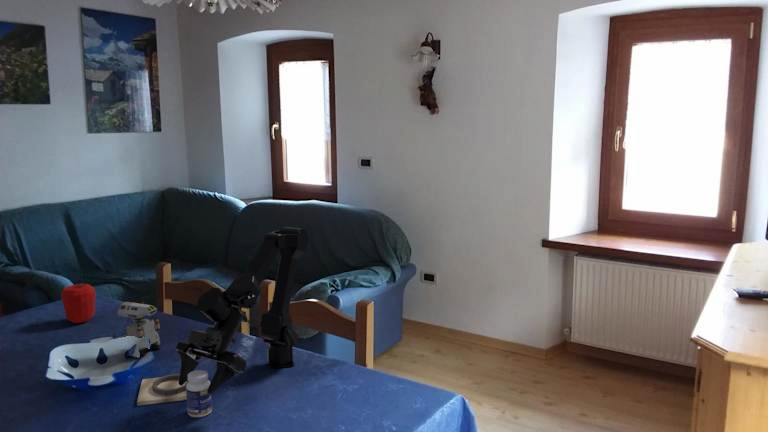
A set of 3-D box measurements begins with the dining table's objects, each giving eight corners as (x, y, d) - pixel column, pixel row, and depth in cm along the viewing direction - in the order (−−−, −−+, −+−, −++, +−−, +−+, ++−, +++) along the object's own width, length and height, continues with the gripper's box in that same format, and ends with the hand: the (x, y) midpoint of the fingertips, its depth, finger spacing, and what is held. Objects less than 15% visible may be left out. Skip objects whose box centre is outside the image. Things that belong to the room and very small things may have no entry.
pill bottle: (205, 419, 148) (202, 380, 146) (183, 417, 149) (180, 378, 147) (216, 407, 153) (214, 369, 151) (195, 405, 154) (192, 367, 152)
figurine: (138, 342, 194) (134, 296, 191) (165, 349, 189) (161, 302, 186) (113, 353, 186) (109, 305, 183) (141, 360, 181) (137, 311, 178)
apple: (88, 326, 207) (84, 287, 205) (58, 326, 208) (53, 287, 205) (103, 315, 218) (99, 278, 215) (73, 315, 218) (70, 278, 215)
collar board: (205, 375, 171) (204, 368, 170) (204, 397, 158) (204, 389, 158) (142, 382, 167) (142, 375, 166) (137, 405, 154) (136, 397, 154)
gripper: (178, 309, 154) (145, 367, 147) (236, 321, 146) (204, 385, 138) (203, 329, 163) (173, 385, 155) (259, 342, 154) (230, 402, 146)
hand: (194, 389), depth 149 cm, fingers open, 9 cm apart
